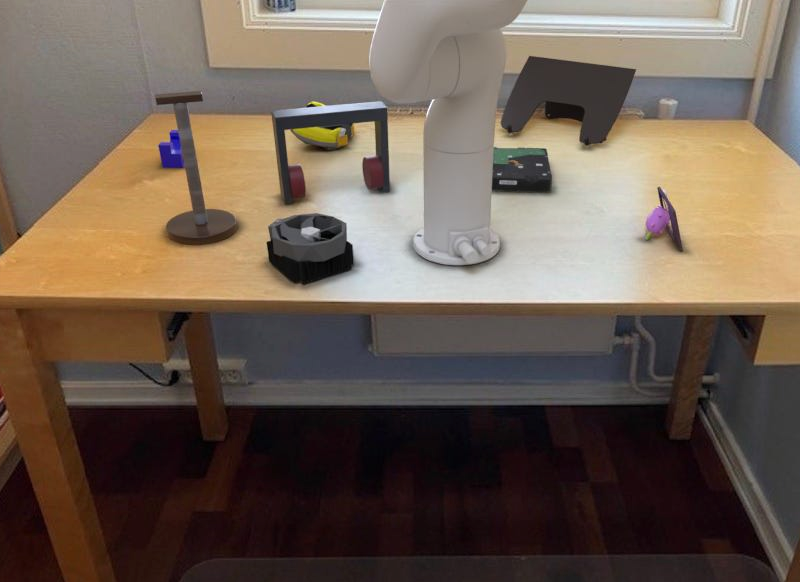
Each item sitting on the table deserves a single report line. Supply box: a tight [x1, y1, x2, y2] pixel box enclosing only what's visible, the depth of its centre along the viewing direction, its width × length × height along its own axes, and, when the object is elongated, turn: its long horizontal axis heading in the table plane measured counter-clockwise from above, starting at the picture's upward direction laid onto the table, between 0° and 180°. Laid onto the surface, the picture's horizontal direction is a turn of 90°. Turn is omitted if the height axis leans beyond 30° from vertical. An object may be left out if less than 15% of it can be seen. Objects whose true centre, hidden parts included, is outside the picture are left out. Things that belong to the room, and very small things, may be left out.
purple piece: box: [644, 186, 684, 252], centre depth 116 cm, size 7×5×9 cm
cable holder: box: [157, 129, 185, 169], centre depth 139 cm, size 8×4×4 cm, turn 1°
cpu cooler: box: [266, 212, 355, 285], centre depth 106 cm, size 10×6×10 cm
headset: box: [270, 100, 391, 206], centre depth 125 cm, size 5×17×14 cm, turn 111°
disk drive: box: [492, 146, 553, 193], centre depth 136 cm, size 10×3×15 cm
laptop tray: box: [500, 55, 637, 150], centre depth 158 cm, size 23×23×9 cm
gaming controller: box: [290, 101, 355, 151], centre depth 148 cm, size 15×6×10 cm
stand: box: [154, 90, 238, 246], centre depth 111 cm, size 10×10×20 cm
